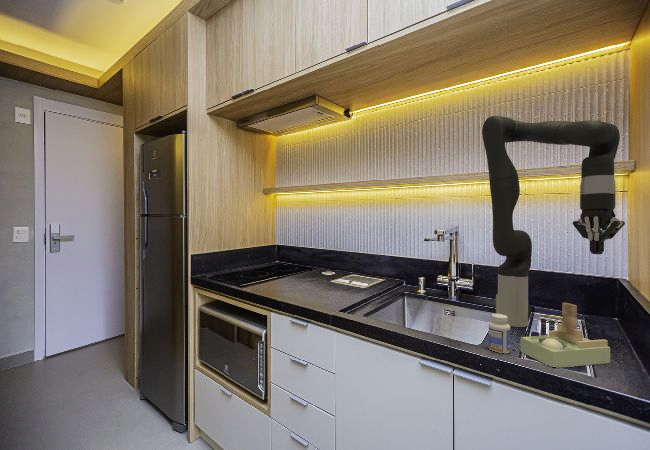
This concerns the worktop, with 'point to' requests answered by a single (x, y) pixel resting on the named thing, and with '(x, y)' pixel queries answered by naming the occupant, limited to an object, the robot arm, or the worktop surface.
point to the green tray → (566, 351)
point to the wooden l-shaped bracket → (569, 324)
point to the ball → (552, 343)
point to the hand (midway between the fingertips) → (596, 254)
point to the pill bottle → (499, 334)
